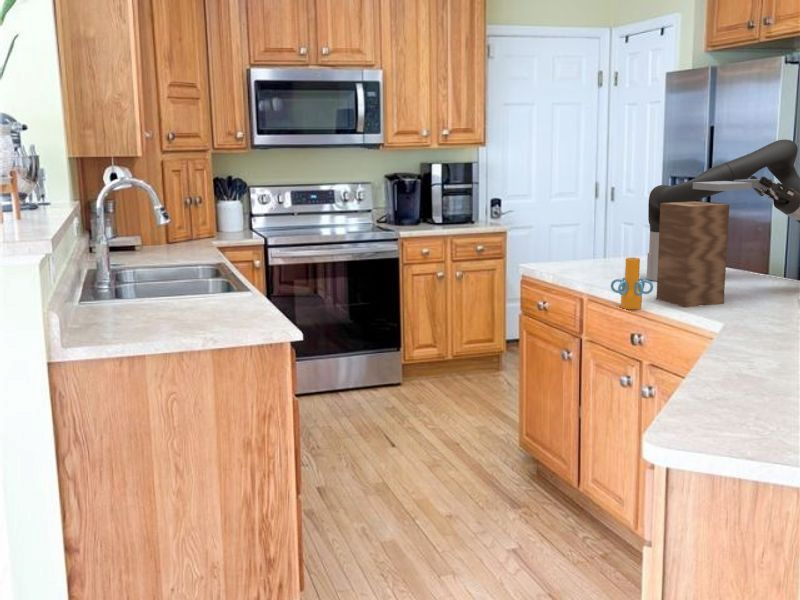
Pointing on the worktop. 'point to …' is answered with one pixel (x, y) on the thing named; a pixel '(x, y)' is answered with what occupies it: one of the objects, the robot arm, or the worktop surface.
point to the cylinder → (631, 285)
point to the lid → (729, 185)
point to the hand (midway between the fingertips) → (756, 178)
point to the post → (692, 253)
